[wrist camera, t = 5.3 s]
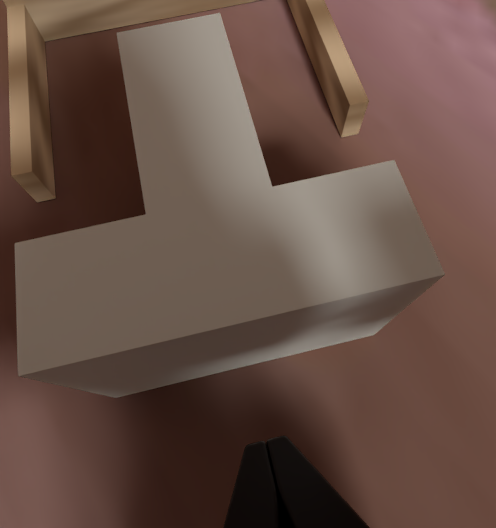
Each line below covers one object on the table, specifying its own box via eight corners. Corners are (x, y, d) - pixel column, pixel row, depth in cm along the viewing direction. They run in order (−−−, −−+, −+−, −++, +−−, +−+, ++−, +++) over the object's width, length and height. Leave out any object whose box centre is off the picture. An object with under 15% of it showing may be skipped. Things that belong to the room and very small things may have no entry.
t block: (373, 334, 19) (445, 274, 12) (115, 397, 18) (17, 375, 11) (301, 131, 24) (320, -7, 16) (91, 175, 23) (9, 53, 15)
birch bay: (358, 133, 23) (376, 77, 20) (37, 202, 22) (-8, 156, 19) (294, -19, 28) (299, -87, 25) (28, 31, 27) (-9, -32, 23)
